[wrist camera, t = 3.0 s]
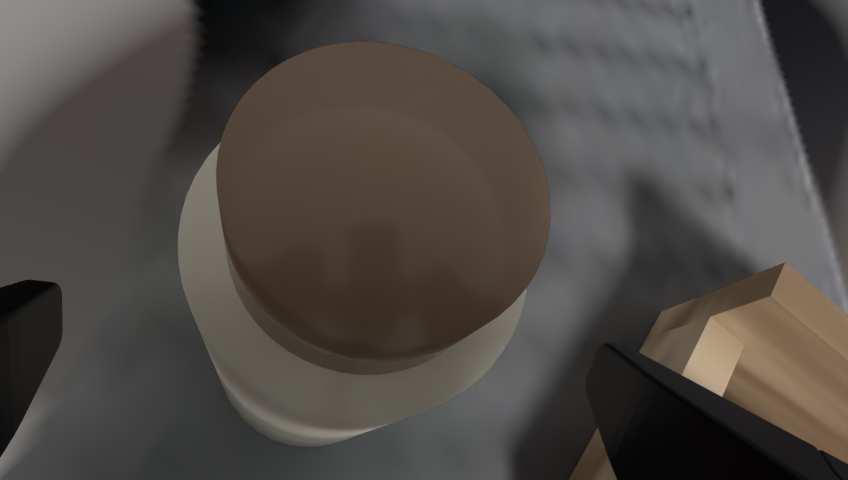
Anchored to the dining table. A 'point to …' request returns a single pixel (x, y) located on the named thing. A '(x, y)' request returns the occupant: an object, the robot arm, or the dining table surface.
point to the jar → (360, 240)
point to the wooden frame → (757, 358)
